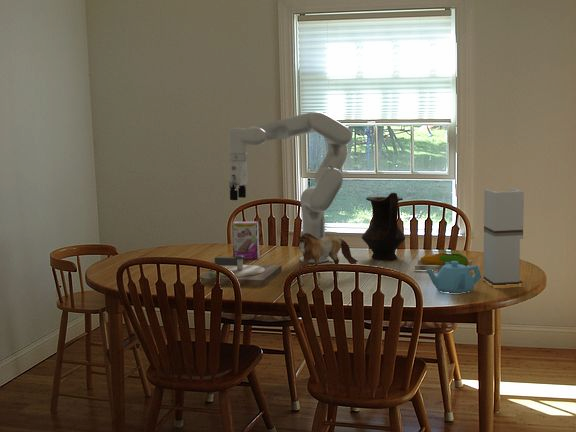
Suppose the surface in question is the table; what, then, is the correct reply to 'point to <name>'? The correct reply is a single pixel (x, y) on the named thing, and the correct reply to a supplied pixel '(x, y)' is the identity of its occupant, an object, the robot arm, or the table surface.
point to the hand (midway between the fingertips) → (238, 198)
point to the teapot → (455, 277)
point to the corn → (444, 258)
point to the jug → (384, 228)
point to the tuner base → (244, 275)
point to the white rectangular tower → (502, 235)
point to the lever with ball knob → (231, 261)
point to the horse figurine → (323, 250)
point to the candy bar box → (246, 239)
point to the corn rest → (431, 266)
